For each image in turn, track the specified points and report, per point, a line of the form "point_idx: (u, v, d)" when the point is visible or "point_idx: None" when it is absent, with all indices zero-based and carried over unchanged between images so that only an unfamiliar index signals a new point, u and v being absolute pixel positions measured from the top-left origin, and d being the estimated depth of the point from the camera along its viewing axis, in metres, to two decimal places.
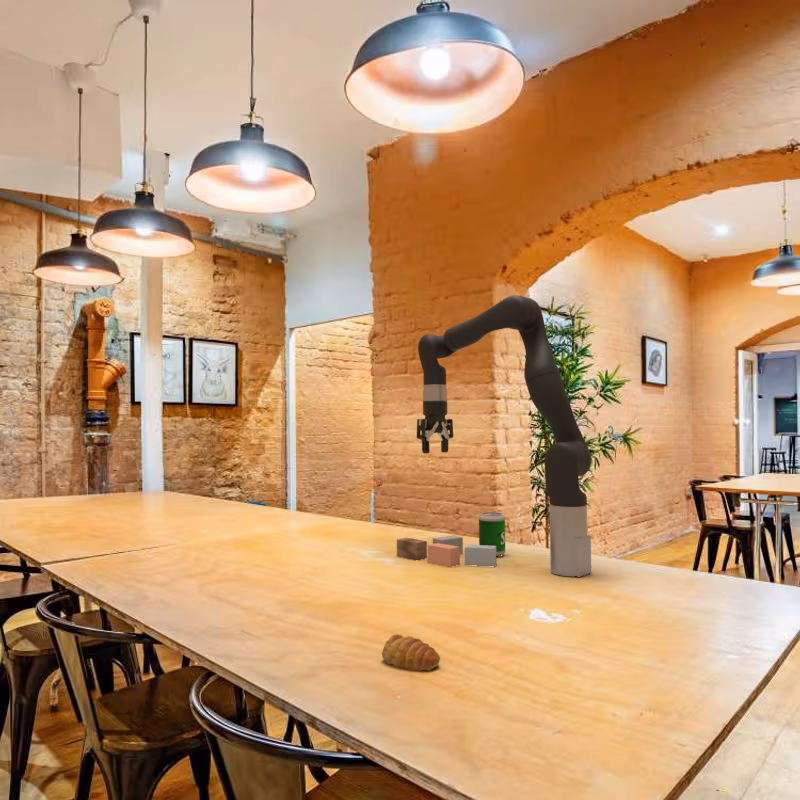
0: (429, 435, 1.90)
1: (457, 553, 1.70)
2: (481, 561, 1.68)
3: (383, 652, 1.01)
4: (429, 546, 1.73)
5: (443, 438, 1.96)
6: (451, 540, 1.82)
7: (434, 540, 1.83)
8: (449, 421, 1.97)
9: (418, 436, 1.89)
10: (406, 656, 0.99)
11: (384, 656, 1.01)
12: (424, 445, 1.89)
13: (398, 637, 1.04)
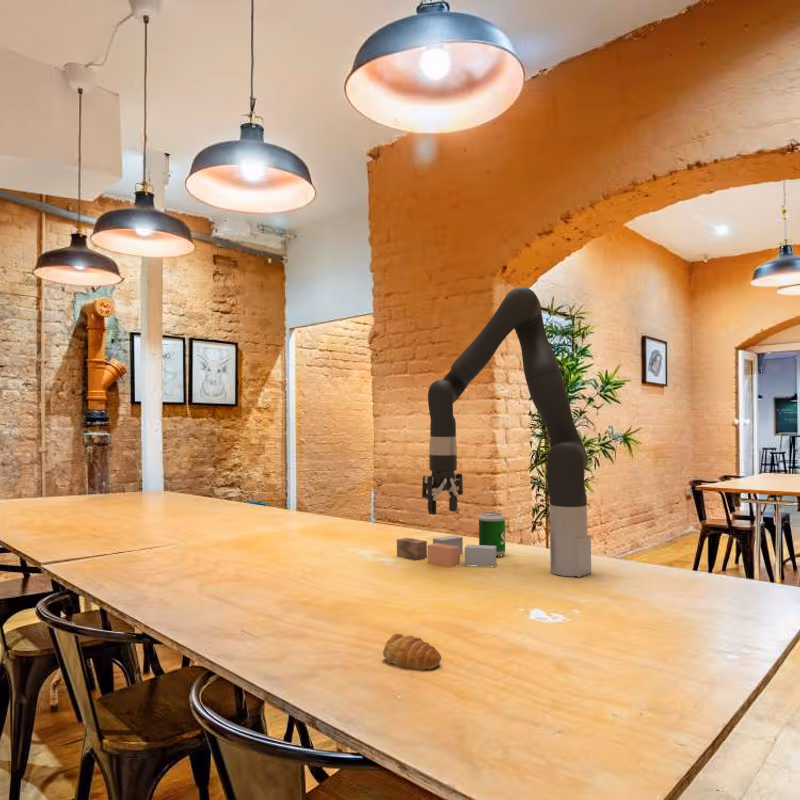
0: (436, 494, 1.69)
1: (457, 553, 1.70)
2: (481, 561, 1.68)
3: (384, 651, 1.02)
4: (429, 546, 1.73)
5: (451, 495, 1.76)
6: (451, 540, 1.82)
7: (434, 540, 1.82)
8: (458, 476, 1.76)
9: (424, 495, 1.68)
10: (408, 655, 0.99)
11: (385, 655, 1.01)
12: (430, 505, 1.68)
13: (399, 636, 1.04)
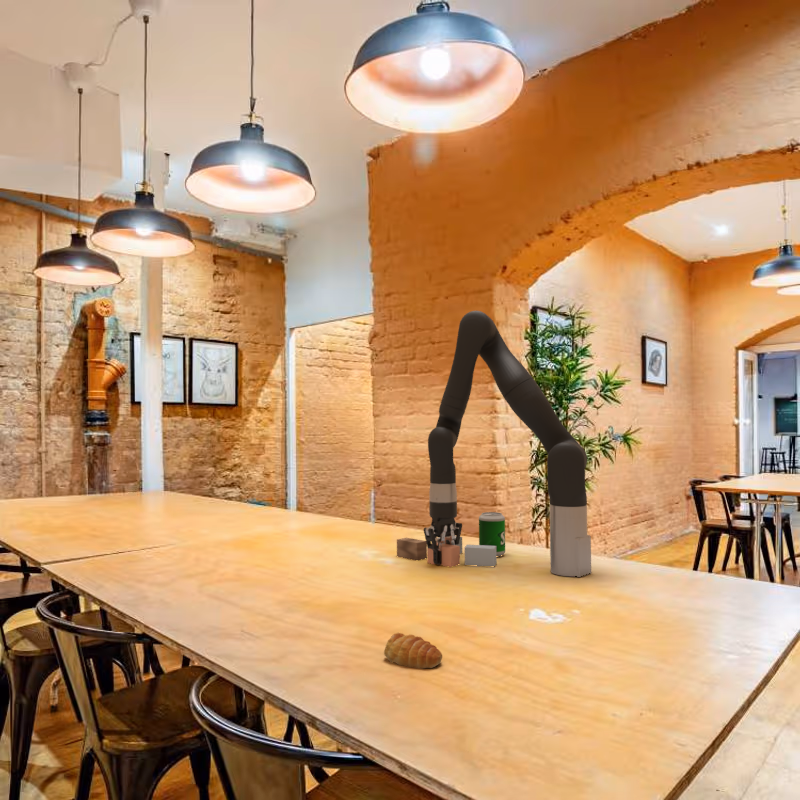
0: (440, 544, 1.69)
1: (457, 552, 1.70)
2: (481, 561, 1.68)
3: (385, 651, 1.02)
4: None
5: None
6: None
7: None
8: (458, 525, 1.75)
9: (429, 547, 1.69)
10: (409, 654, 1.00)
11: (386, 655, 1.02)
12: (436, 556, 1.69)
13: (400, 635, 1.04)
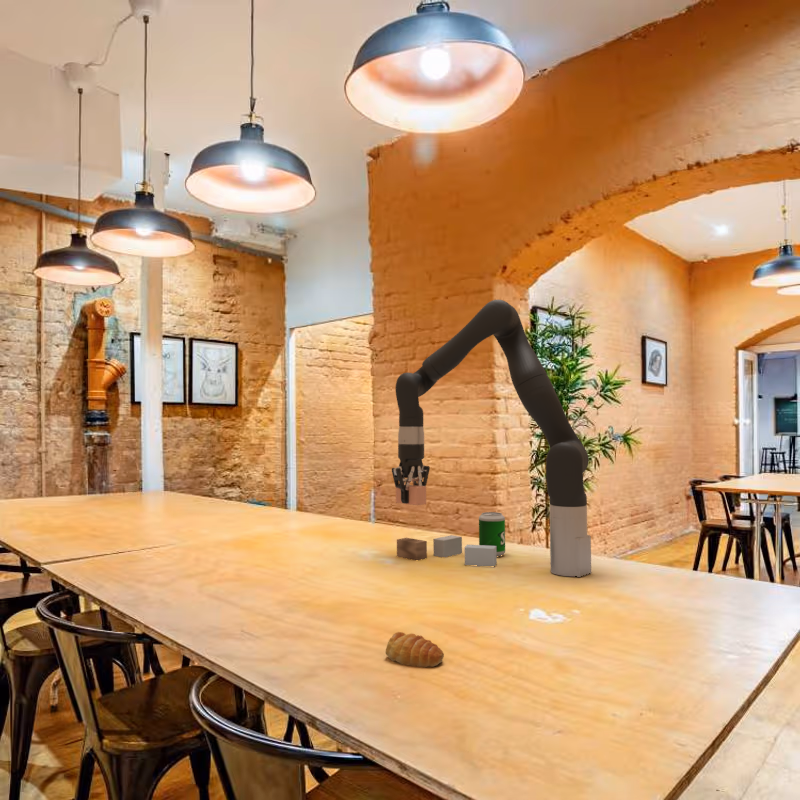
0: (408, 483, 1.78)
1: (424, 492, 1.79)
2: (481, 561, 1.68)
3: (387, 650, 1.02)
4: None
5: None
6: (452, 540, 1.82)
7: (435, 540, 1.82)
8: (426, 468, 1.84)
9: (397, 486, 1.77)
10: (411, 653, 1.00)
11: (388, 654, 1.02)
12: (403, 495, 1.78)
13: (401, 634, 1.05)
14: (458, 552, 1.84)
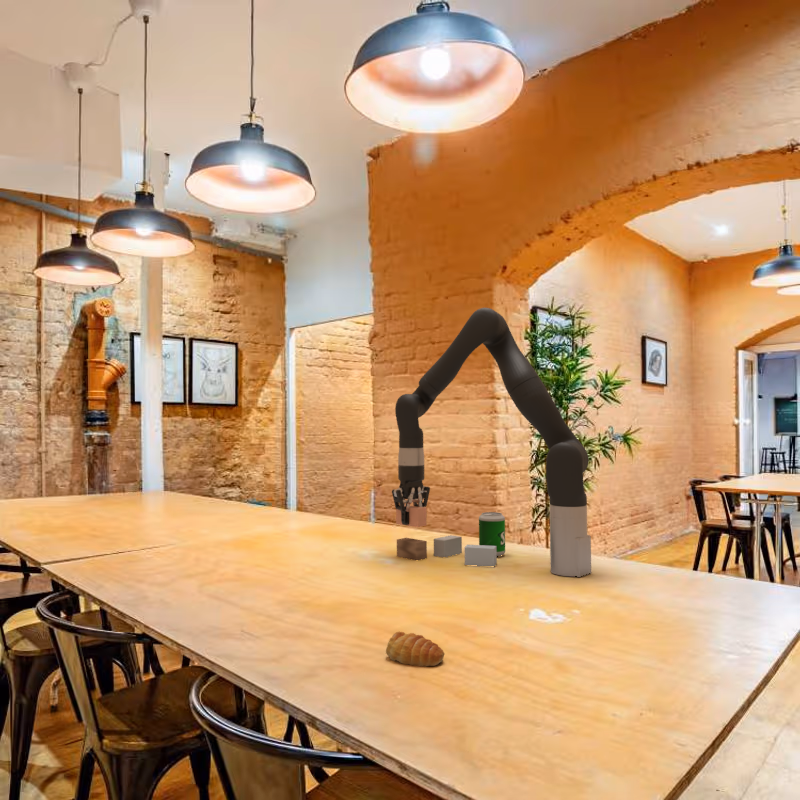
0: (408, 505, 1.78)
1: (424, 513, 1.79)
2: (481, 561, 1.68)
3: (387, 649, 1.03)
4: None
5: None
6: (452, 540, 1.82)
7: (436, 540, 1.82)
8: (426, 488, 1.84)
9: (397, 508, 1.77)
10: (412, 652, 1.00)
11: (388, 653, 1.02)
12: (403, 516, 1.78)
13: (401, 634, 1.05)
14: (458, 552, 1.84)
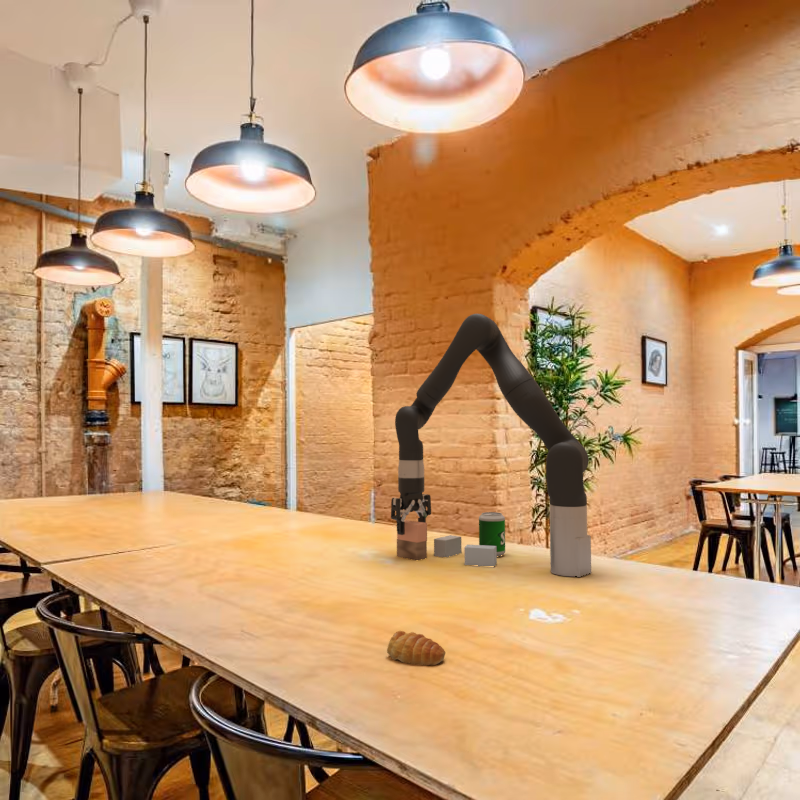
0: (404, 515, 1.77)
1: (424, 529, 1.79)
2: (481, 561, 1.68)
3: (388, 649, 1.03)
4: None
5: (420, 515, 1.84)
6: (452, 540, 1.82)
7: (436, 540, 1.82)
8: (427, 497, 1.84)
9: (392, 517, 1.76)
10: (413, 651, 1.01)
11: (390, 652, 1.03)
12: (399, 526, 1.77)
13: (402, 633, 1.05)
14: (458, 552, 1.84)
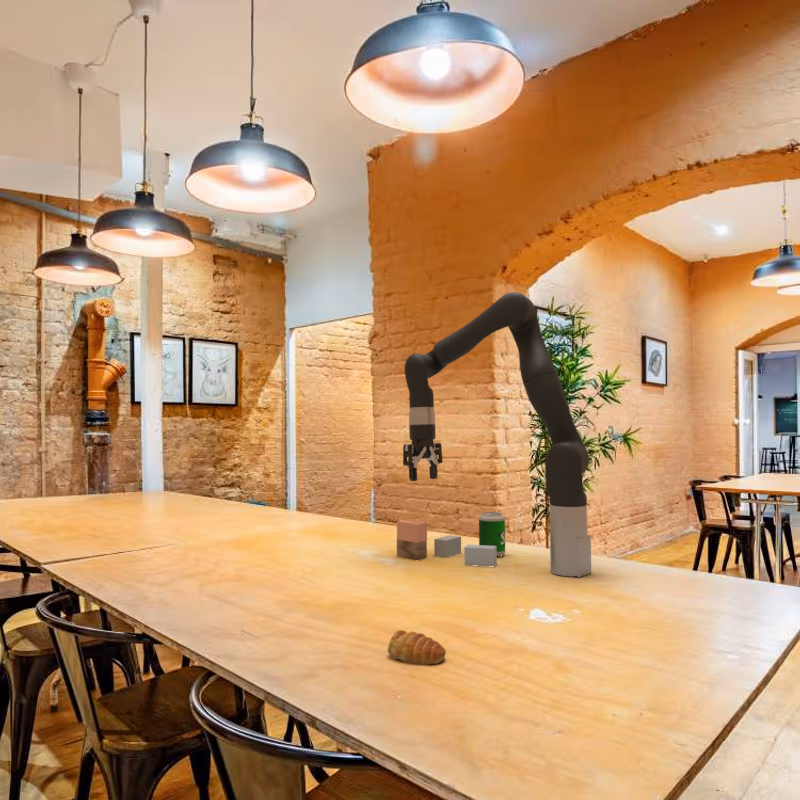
0: (416, 461, 1.77)
1: (424, 529, 1.79)
2: (481, 561, 1.68)
3: (389, 648, 1.03)
4: (398, 523, 1.81)
5: (431, 463, 1.84)
6: (453, 540, 1.83)
7: (436, 541, 1.81)
8: (438, 445, 1.85)
9: (405, 463, 1.76)
10: (414, 650, 1.01)
11: (390, 652, 1.03)
12: (411, 472, 1.77)
13: (402, 633, 1.06)
14: (458, 552, 1.84)
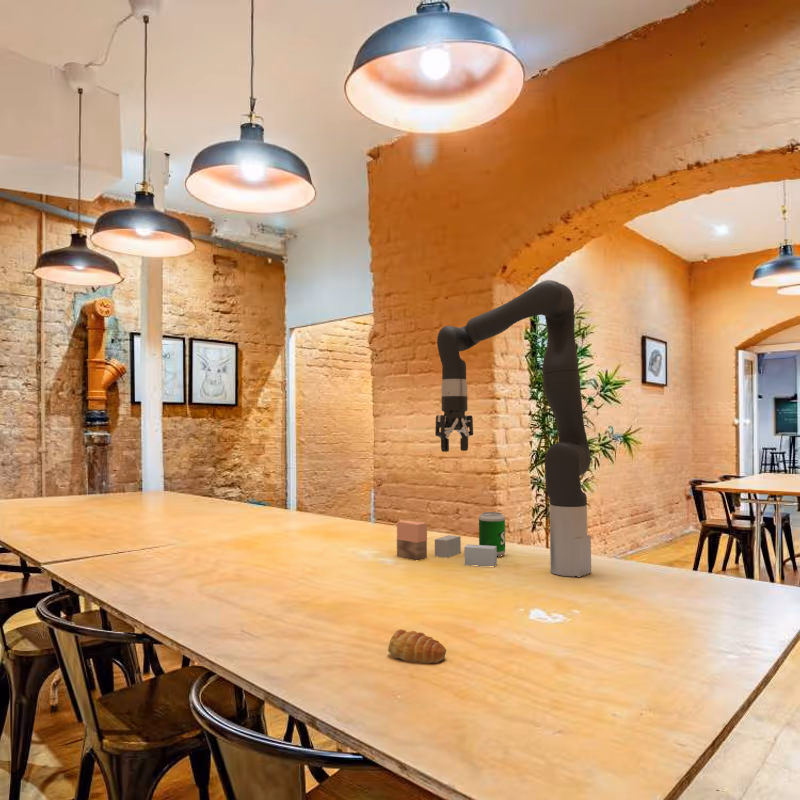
0: (448, 432, 1.79)
1: (424, 529, 1.78)
2: (481, 561, 1.68)
3: (390, 647, 1.04)
4: (398, 523, 1.81)
5: (462, 436, 1.86)
6: (453, 540, 1.83)
7: (437, 541, 1.81)
8: (469, 418, 1.87)
9: (437, 433, 1.78)
10: (415, 649, 1.01)
11: (391, 651, 1.03)
12: (443, 443, 1.79)
13: (402, 632, 1.06)
14: (457, 552, 1.85)
